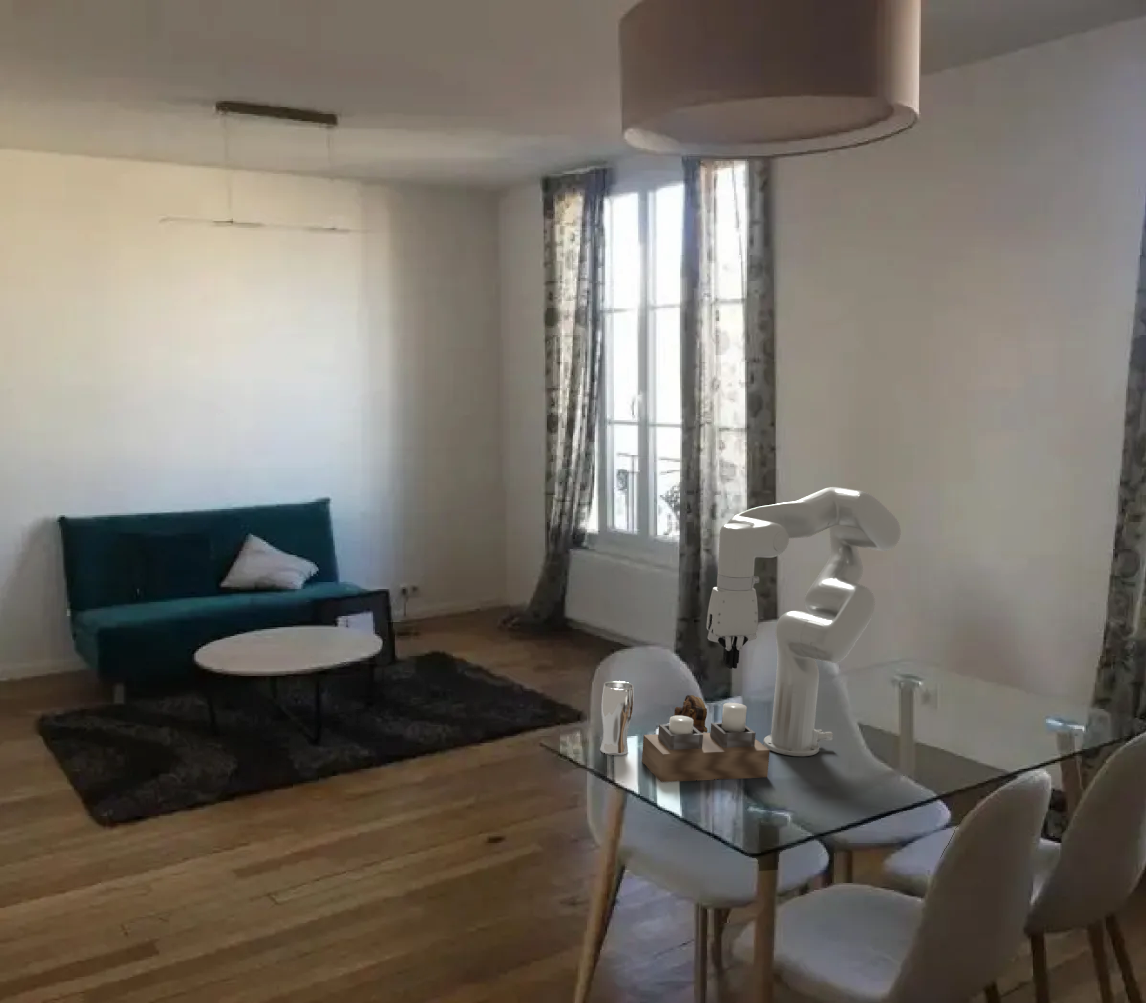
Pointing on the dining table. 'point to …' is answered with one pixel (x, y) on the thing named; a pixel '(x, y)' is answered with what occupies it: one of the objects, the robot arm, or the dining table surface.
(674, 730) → the knob
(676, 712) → the wooden carving
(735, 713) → the knob
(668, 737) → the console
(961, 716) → the dining table surface
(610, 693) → the beer glass
